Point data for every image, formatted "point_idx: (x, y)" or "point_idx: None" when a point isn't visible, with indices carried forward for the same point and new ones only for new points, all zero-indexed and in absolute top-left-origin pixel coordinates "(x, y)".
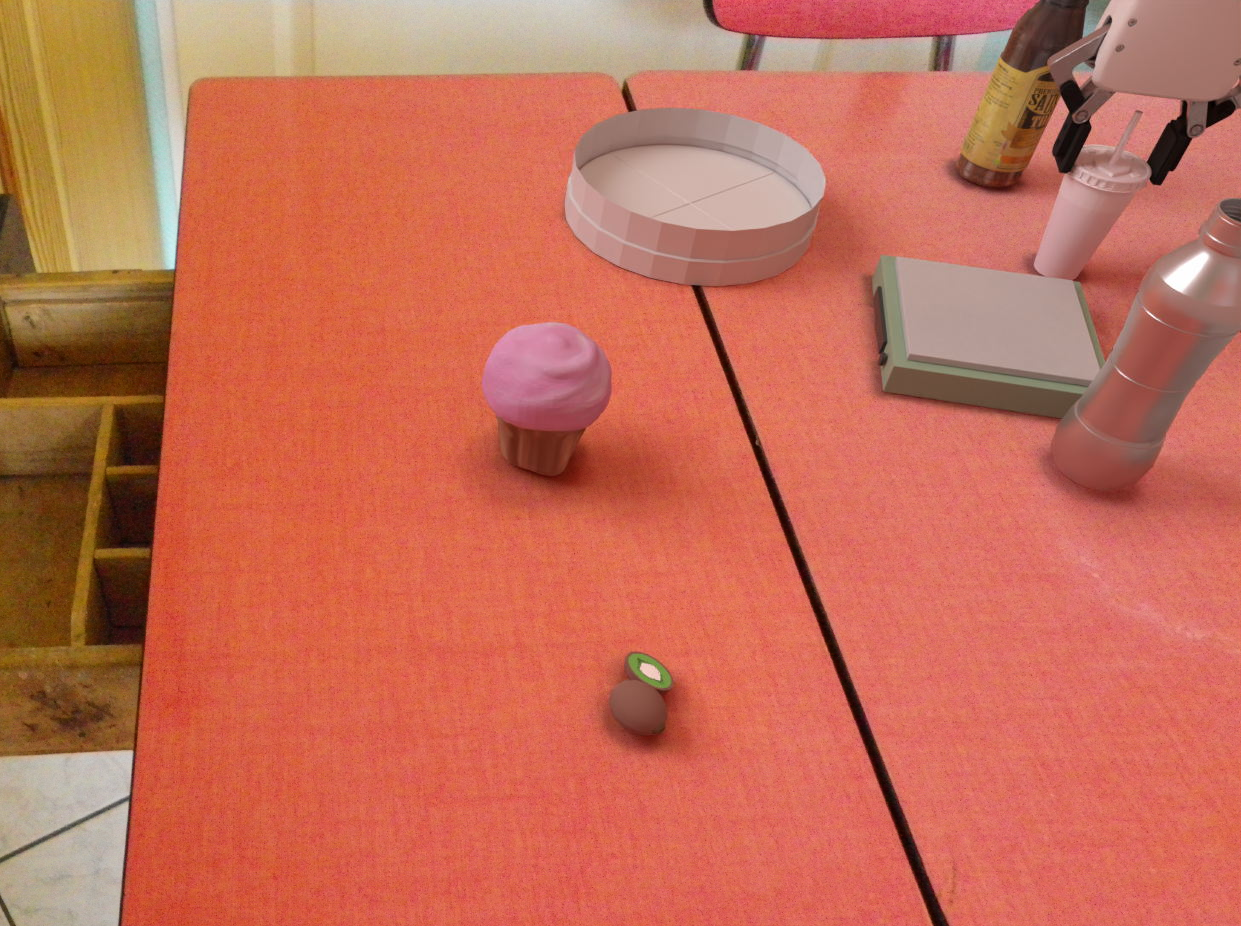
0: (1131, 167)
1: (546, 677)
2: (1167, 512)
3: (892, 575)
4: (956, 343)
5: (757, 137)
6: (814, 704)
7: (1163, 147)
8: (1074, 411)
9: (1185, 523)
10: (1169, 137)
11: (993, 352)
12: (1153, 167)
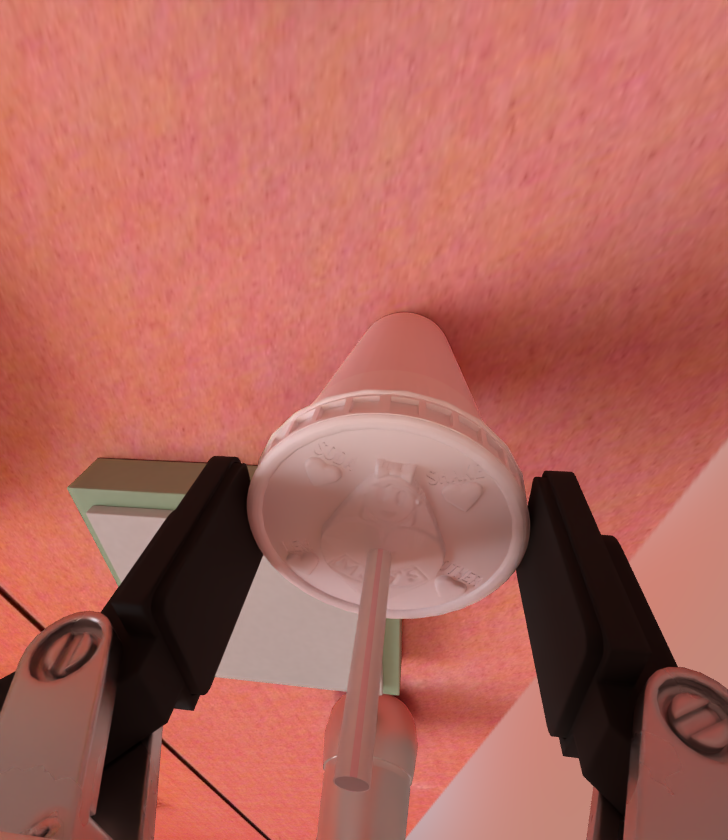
0: (454, 543)
1: None
2: (438, 726)
3: (229, 757)
4: None
5: None
6: (206, 798)
7: (546, 622)
8: (323, 767)
9: (450, 733)
10: (556, 672)
11: (255, 667)
12: (528, 558)
